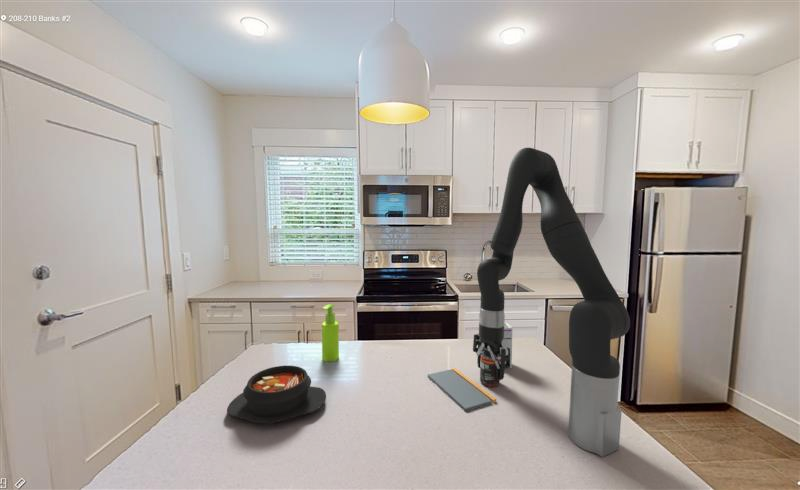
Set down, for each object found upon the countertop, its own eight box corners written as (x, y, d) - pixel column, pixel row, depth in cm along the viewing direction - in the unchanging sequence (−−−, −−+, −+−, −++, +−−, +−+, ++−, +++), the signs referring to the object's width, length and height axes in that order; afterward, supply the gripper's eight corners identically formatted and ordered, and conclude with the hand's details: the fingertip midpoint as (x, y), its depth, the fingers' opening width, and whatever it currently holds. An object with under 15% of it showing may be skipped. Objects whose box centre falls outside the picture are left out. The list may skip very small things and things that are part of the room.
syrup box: (512, 368, 108) (513, 327, 107) (494, 368, 108) (496, 327, 107) (506, 361, 114) (508, 322, 112) (490, 361, 114) (491, 321, 113)
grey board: (496, 401, 88) (496, 398, 88) (465, 411, 84) (465, 408, 84) (454, 370, 106) (455, 368, 106) (427, 376, 102) (427, 374, 102)
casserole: (330, 387, 95) (330, 360, 94) (320, 428, 77) (319, 395, 76) (244, 390, 93) (243, 363, 92) (212, 433, 74) (211, 399, 74)
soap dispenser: (317, 361, 112) (316, 306, 110) (327, 353, 119) (327, 301, 117) (332, 364, 110) (331, 308, 109) (341, 355, 117) (341, 303, 115)
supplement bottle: (497, 378, 101) (498, 344, 100) (501, 388, 95) (502, 352, 94) (478, 377, 102) (479, 343, 101) (481, 387, 96) (482, 351, 95)
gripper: (518, 328, 92) (516, 381, 93) (485, 314, 105) (484, 361, 106) (498, 331, 89) (496, 386, 90) (467, 317, 102) (466, 365, 103)
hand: (489, 373), depth 98 cm, fingers open, 8 cm apart
